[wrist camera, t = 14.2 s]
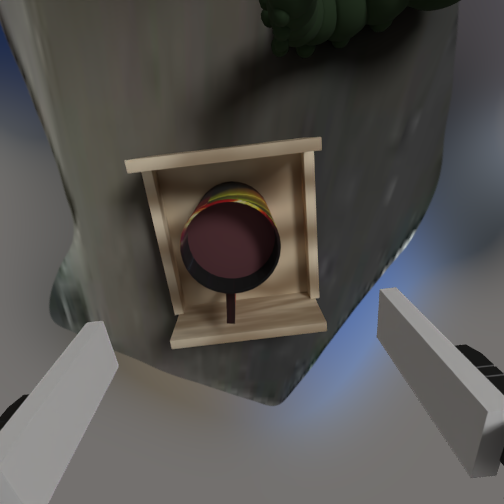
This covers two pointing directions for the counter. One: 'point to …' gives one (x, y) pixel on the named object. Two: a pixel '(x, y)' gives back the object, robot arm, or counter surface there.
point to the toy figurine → (331, 20)
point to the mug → (231, 241)
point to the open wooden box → (286, 220)
